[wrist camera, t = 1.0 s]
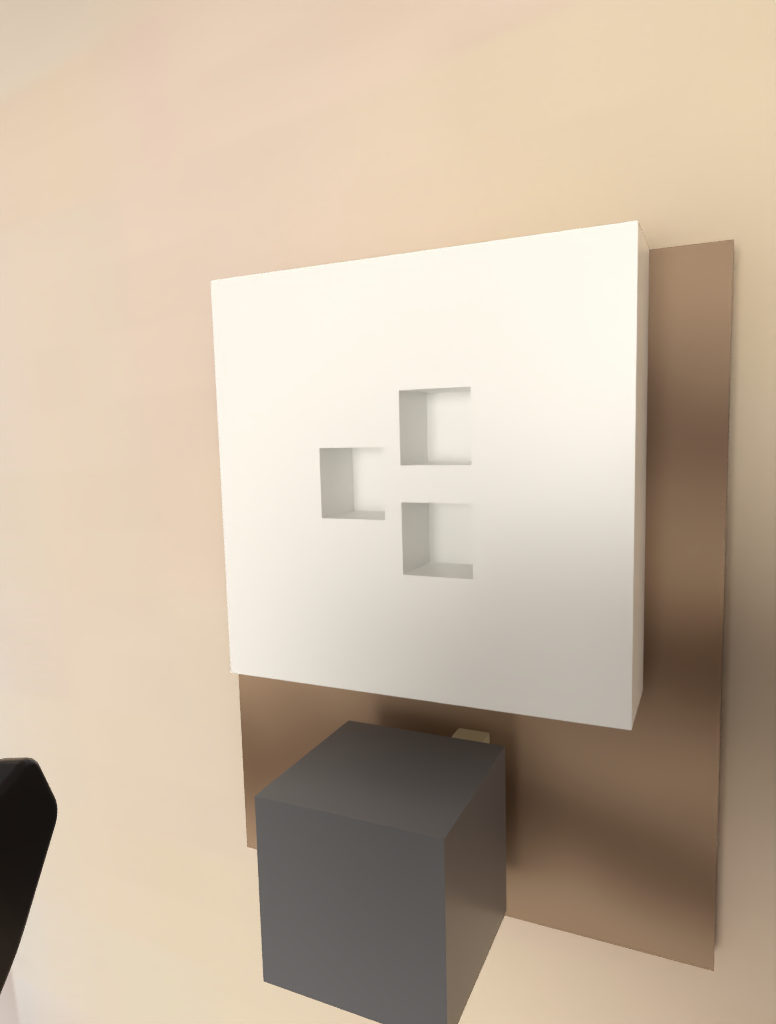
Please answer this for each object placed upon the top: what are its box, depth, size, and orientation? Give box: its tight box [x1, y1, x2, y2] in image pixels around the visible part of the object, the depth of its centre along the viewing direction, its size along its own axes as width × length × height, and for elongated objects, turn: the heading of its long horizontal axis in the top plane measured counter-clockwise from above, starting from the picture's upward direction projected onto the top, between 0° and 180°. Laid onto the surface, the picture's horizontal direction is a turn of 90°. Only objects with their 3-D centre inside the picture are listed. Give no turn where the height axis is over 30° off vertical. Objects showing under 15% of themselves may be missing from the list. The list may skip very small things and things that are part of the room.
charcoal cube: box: [255, 720, 506, 1024], centre depth 20 cm, size 5×5×7 cm
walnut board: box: [239, 240, 734, 971], centre depth 23 cm, size 20×16×1 cm
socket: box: [211, 221, 649, 730], centre depth 21 cm, size 12×12×3 cm
